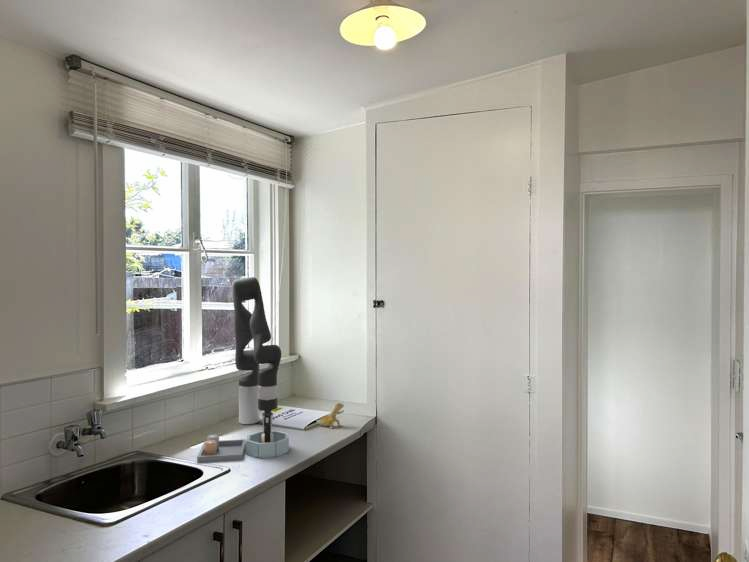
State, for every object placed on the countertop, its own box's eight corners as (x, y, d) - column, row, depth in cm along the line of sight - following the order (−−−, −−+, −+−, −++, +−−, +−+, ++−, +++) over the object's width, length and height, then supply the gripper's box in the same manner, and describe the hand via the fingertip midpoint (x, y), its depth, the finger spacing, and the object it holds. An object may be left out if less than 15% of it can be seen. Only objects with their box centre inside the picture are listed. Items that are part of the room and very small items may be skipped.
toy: (345, 423, 232) (339, 401, 235) (315, 433, 236) (310, 411, 239) (351, 423, 238) (345, 401, 241) (321, 432, 242) (316, 411, 245)
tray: (204, 446, 211) (204, 441, 211) (245, 444, 213) (245, 439, 213) (197, 462, 193) (197, 456, 193) (242, 460, 196) (242, 454, 195)
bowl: (248, 445, 212) (248, 431, 212) (288, 443, 215) (288, 429, 215) (245, 459, 197) (245, 444, 197) (288, 456, 199) (288, 442, 199)
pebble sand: (262, 446, 208) (261, 433, 208) (273, 446, 208) (273, 432, 208) (261, 450, 203) (261, 436, 203) (273, 449, 204) (272, 435, 204)
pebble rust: (205, 454, 201) (205, 440, 201) (217, 454, 201) (217, 439, 201) (203, 458, 196) (203, 444, 196) (215, 458, 197) (215, 443, 197)
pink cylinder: (208, 448, 208) (208, 434, 208) (219, 448, 208) (219, 434, 208) (206, 452, 203) (206, 438, 203) (218, 451, 204) (218, 437, 204)
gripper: (258, 392, 212) (258, 434, 212) (256, 401, 198) (256, 446, 198) (277, 392, 213) (277, 433, 213) (277, 400, 199) (277, 445, 199)
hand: (267, 439), depth 206 cm, fingers open, 6 cm apart
